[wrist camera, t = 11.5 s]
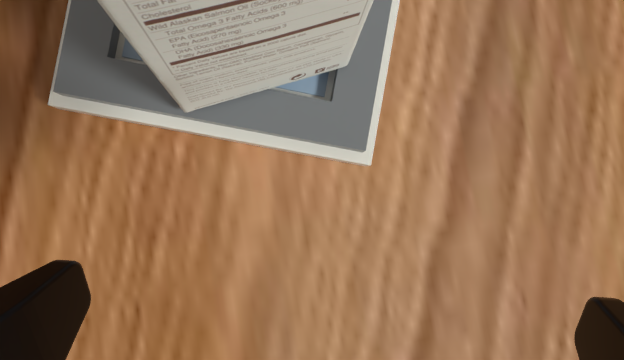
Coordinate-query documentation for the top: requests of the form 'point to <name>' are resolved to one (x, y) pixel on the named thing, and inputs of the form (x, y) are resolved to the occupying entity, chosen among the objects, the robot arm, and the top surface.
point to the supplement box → (237, 42)
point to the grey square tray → (237, 112)
